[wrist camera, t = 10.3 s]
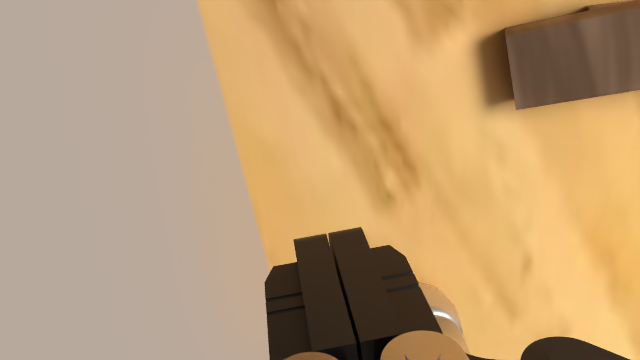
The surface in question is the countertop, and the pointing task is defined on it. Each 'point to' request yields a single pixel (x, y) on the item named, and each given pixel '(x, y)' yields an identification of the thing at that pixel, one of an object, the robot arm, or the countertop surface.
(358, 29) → the countertop surface
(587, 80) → the domino
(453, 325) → the plastic bottle
